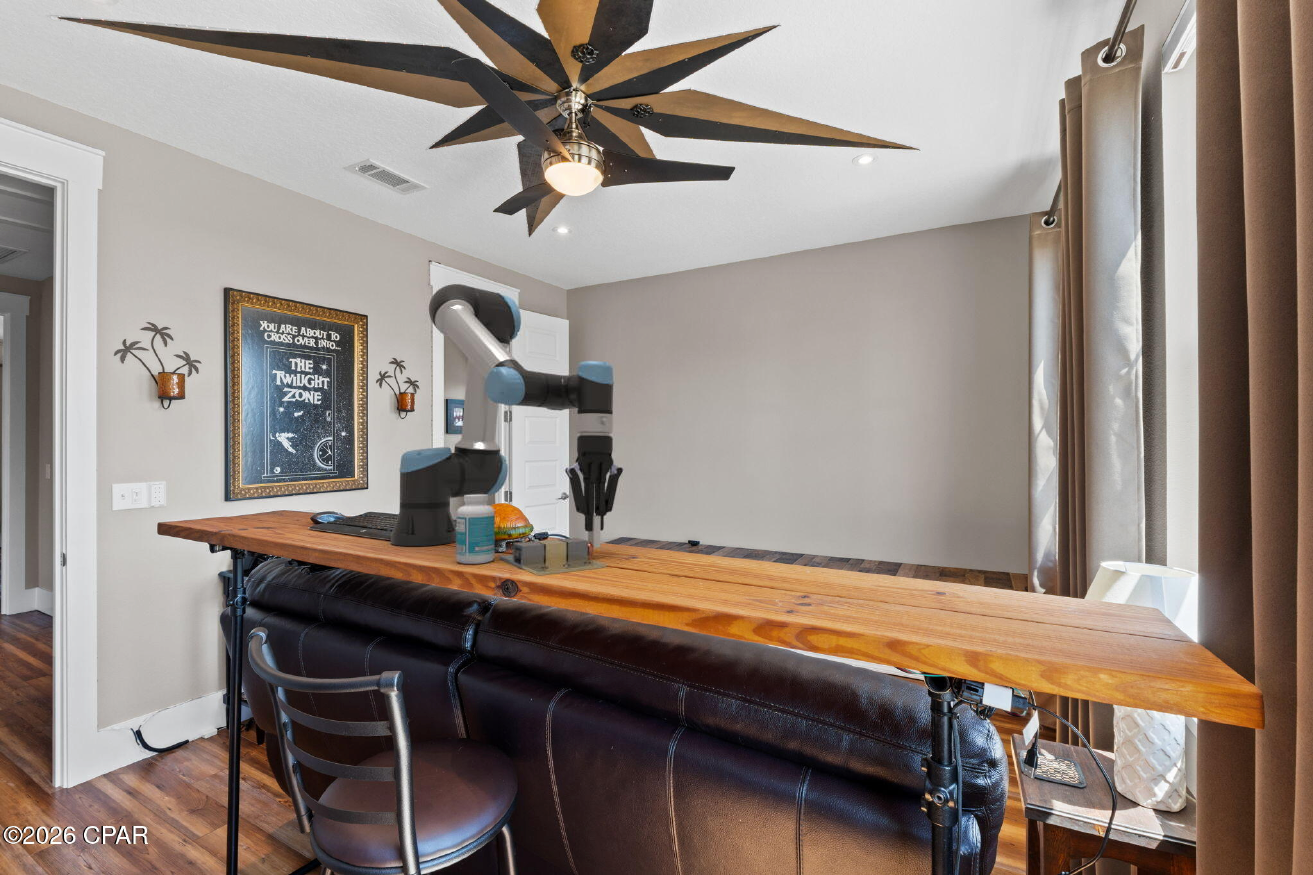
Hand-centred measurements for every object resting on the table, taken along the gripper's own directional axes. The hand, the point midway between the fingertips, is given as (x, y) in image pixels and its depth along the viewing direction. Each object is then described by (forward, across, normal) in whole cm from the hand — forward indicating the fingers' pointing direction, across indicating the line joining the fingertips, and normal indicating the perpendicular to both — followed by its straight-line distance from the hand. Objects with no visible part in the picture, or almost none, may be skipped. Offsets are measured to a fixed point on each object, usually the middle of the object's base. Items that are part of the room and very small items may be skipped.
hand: (594, 546), depth 122 cm
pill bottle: (+3, -22, +10) cm, 24 cm away
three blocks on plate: (+2, -10, 0) cm, 10 cm away
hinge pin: (+2, -9, 0) cm, 9 cm away
